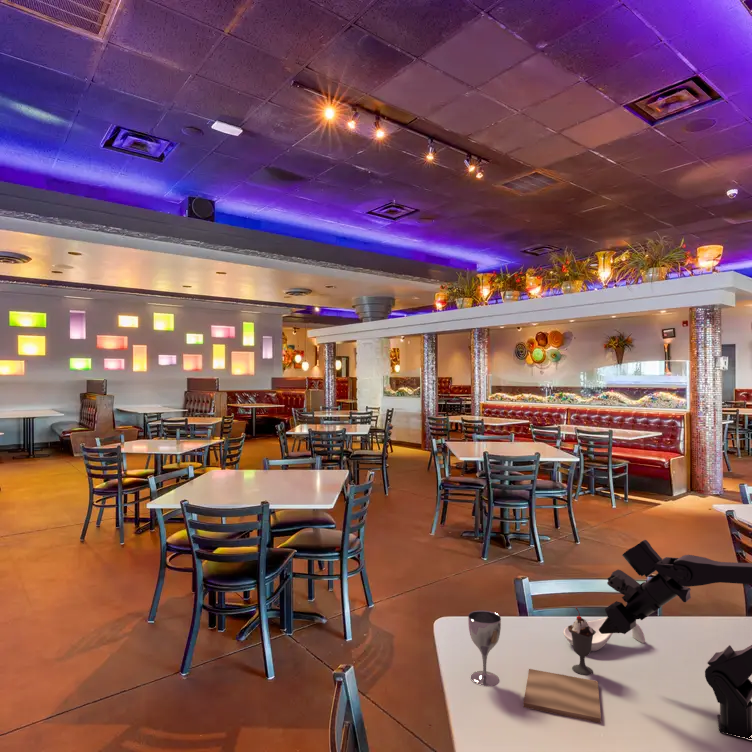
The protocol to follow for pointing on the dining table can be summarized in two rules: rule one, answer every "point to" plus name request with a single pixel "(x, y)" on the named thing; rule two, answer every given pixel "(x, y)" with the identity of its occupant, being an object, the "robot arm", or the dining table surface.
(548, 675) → the serving board
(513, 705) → the dining table surface
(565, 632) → the spoon rest
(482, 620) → the wine glass
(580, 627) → the sundae
